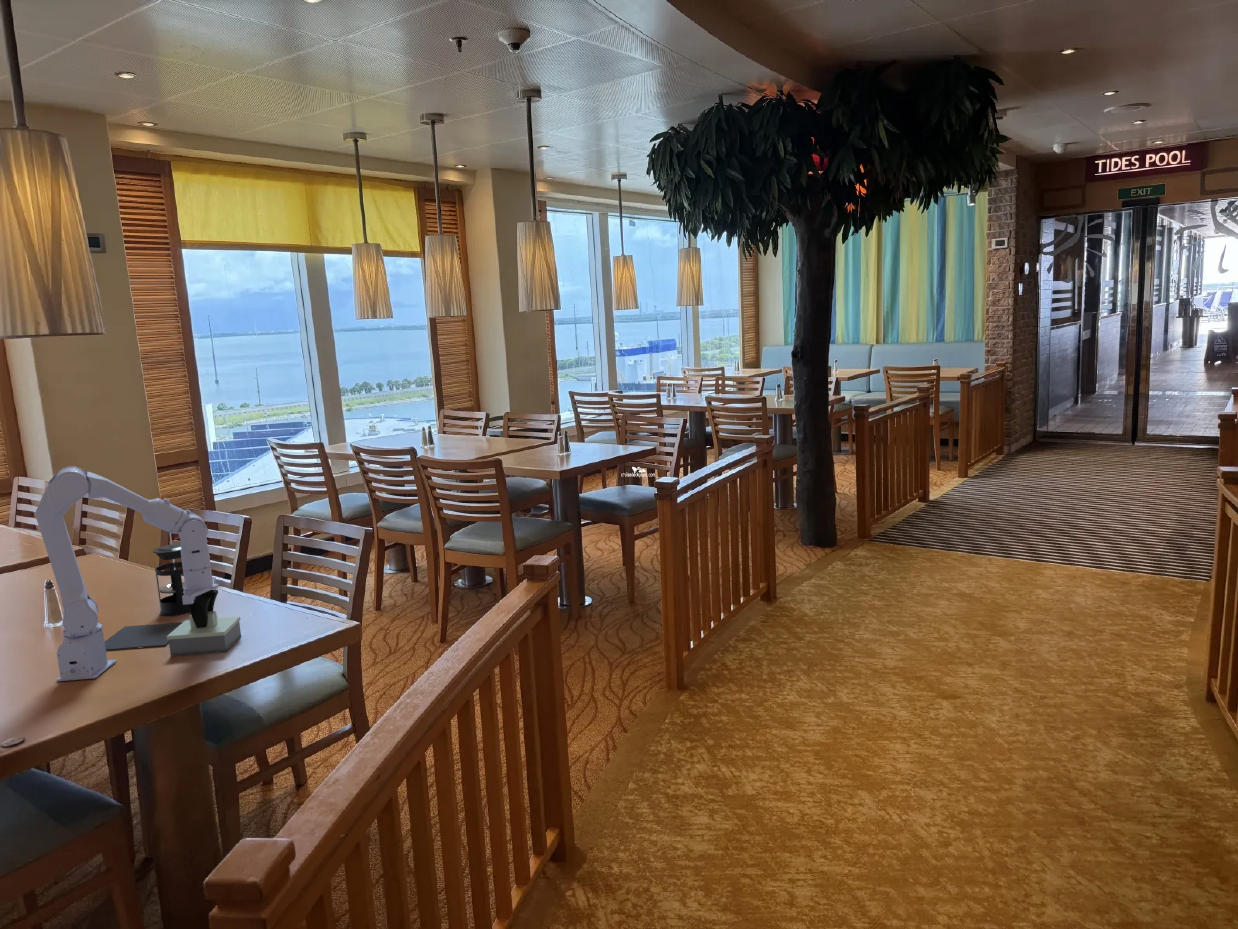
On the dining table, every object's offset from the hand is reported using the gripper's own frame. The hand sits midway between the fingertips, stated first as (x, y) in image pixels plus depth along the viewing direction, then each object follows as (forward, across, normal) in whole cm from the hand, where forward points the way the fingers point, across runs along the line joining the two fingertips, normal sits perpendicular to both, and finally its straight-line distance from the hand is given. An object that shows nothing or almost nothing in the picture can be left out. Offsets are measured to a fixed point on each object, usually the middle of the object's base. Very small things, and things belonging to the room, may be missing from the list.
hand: (204, 624), depth 196 cm
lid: (+2, 0, 0) cm, 2 cm away
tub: (+5, 0, 0) cm, 5 cm away
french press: (+5, +30, +17) cm, 35 cm away
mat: (+5, +10, +18) cm, 21 cm away
